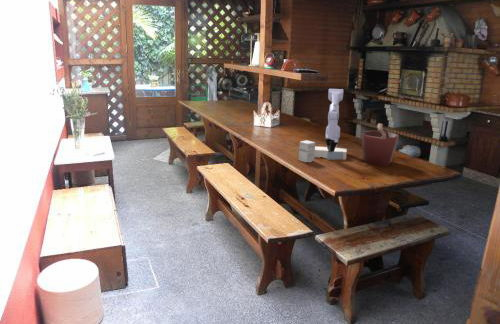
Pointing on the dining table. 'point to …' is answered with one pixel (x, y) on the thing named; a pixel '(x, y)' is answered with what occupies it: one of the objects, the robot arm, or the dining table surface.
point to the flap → (334, 154)
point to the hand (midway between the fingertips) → (330, 150)
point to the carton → (323, 151)
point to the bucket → (378, 146)
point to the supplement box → (306, 151)
